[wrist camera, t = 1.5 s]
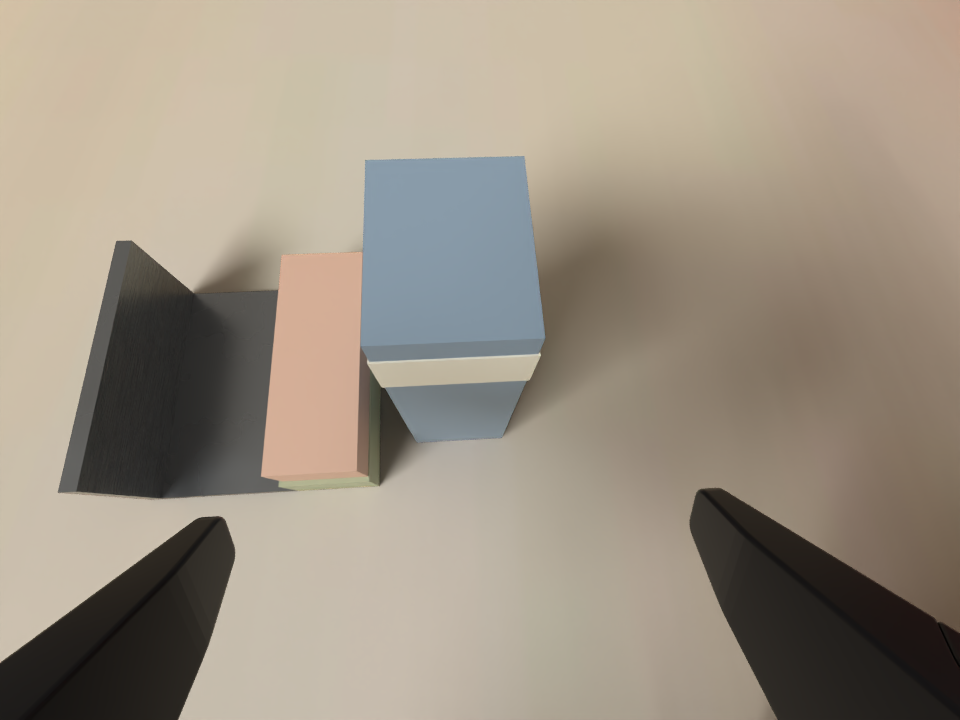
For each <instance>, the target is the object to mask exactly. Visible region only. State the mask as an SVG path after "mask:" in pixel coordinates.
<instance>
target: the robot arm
mask: <svg viewBox="0 0 960 720" xmlns="http://www.w3.org/2000/svg"><path fill="white" fill-rule="evenodd" d="M690 530H691V534H692V536H693V539H694V541H695V544H696V546H697V549H698V552H699V554H700V557H701V559H702V562H703V564H704V567H705V569H706V572H707V575H708V577H709V580H710V582H711V585H712V587H713V590H714V592H715V595H716V597H717V600H718V602H719V604H720V607H721V609H722V611H723V613H724V615H725V617H726V619H727V622H728V624H729V626H730V627H731V629H732V631H733V633H734V635H735V637H736V639H737V641H738V643H739V645H740V647H741V649H742V651H743V653H744V655H745V657H746V659H747V661H748V663H749V665H750V667H751V669H752V670H753V672H754V674H755V676H756V678H757V680H758V682H759V684H760V686H761V688H762V690H763V692H764V694H765V696H766V698H767V700H768V702H769V704H770V706H771V708H772V710H773V712H774V714H775V715H776V717H777V719H778V720H960V633H959V632H957V631H956V630H954V629H952V628H951V627H949V626H947V625H946V624H944V623H942V622H937V621H936V619H935V618H934V617H932V616H931V615H929V614H927V613H926V612H924V611H922V610H921V609H919V608H917V607H916V606H914V605H912V604H911V603H909V602H908V601H906V600H904V599H903V598H901V597H899V596H898V595H896V594H894V593H893V592H891V591H889V590H888V589H886V588H884V587H883V586H881V585H880V584H878V583H876V582H875V581H873V580H871V579H870V578H868V577H866V576H865V575H863V574H861V573H860V572H858V571H857V570H855V569H853V568H852V567H850V566H848V565H847V564H845V563H843V562H842V561H840V560H838V559H837V558H835V557H833V556H832V555H830V554H829V553H827V552H825V551H824V550H822V549H820V548H819V547H817V546H815V545H814V544H812V543H810V542H809V541H807V540H805V539H804V538H802V537H801V536H799V535H797V534H796V533H794V532H792V531H791V530H789V529H787V528H786V527H784V526H782V525H781V524H779V523H778V522H776V521H774V520H773V519H771V518H769V517H768V516H766V515H764V514H763V513H761V512H759V511H758V510H756V509H754V508H753V507H751V506H750V505H748V504H746V503H745V502H743V501H741V500H740V499H738V498H736V497H735V496H733V495H731V494H730V493H728V492H726V491H725V490H723V489H721V488H705V489H700V490H698V491H697V493H696V496H695V500H694V504H693V508H692V512H691V516H690ZM234 560H235V547H234V544H233V541H232V538H231V535H230V532H229V529H228V526H227V523H226V521H225V519H224V518H222V517H219V516H216V517H201V518H198V519H196V520H194V521H193V522H192V523H190V524H189V525H188V526H186V527H185V528H183V529H182V530H181V531H179V532H178V533H177V534H175V535H174V536H173V537H171V538H170V539H168V540H167V541H166V542H164V543H163V544H162V545H160V546H159V547H158V548H156V549H155V550H153V551H152V552H151V553H149V554H148V555H147V556H145V557H144V558H142V559H141V560H140V561H138V562H137V563H136V564H134V565H133V566H132V567H130V568H129V569H127V570H126V571H125V572H123V573H122V574H121V575H119V576H118V577H117V578H115V579H114V580H112V581H111V582H110V583H108V584H107V585H106V586H104V587H103V588H102V589H100V590H99V591H97V592H96V593H95V594H93V595H92V596H91V597H89V598H88V599H87V600H85V601H84V602H82V603H81V604H80V605H78V606H77V607H76V608H74V609H73V610H72V611H70V612H69V613H67V614H66V615H65V616H63V617H62V618H61V619H59V620H58V621H57V622H55V623H54V624H52V625H51V626H50V627H48V628H47V629H46V630H44V631H43V632H41V633H40V634H39V635H37V636H36V637H35V638H33V639H32V640H31V641H29V642H28V643H26V644H25V645H24V646H22V647H21V648H20V649H18V650H17V651H16V652H14V653H13V654H11V655H10V656H9V657H7V658H6V659H5V660H3V661H2V662H0V720H178V719H179V716H180V714H181V711H182V709H183V707H184V704H185V702H186V699H187V697H188V694H189V692H190V690H191V687H192V685H193V682H194V680H195V678H196V675H197V673H198V670H199V668H200V665H201V663H202V661H203V658H204V655H205V653H206V650H207V648H208V645H209V642H210V639H211V636H212V633H213V630H214V627H215V623H216V620H217V617H218V613H219V610H220V607H221V603H222V600H223V597H224V593H225V590H226V587H227V584H228V580H229V577H230V574H231V570H232V567H233V564H234Z"/></svg>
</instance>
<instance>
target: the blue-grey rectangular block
mask: <svg viewBox="0 0 960 720" xmlns="http://www.w3.org/2000/svg"><path fill="white" fill-rule="evenodd" d="M544 340H545V331H544V322H543V314H542V305H541V296H540V288H539V279H538V270H537V262H536V253H535V245H534V236H533V227H532V219H531V210H530V202H529V193H528V184H527V176H526V167H525V158H524V156H515V157H474V158H433V159H392V160H365V194H364V231H363V268H362V305H361V343H360V347H361V348H362V350H363V352H364V354H365V355H366V357H367V364H368V366H369V368H370V369H371V371H372V373H373V374H374V376H375V378H376V379H377V381H378V382H379V384H380V386H381V387H382V388H385V389H386V391H387V393H388V394H389V396H390V398H391V399H392V401H393V403H394V405H395V406H396V408H397V410H398V411H399V413H400V415H401V416H402V418H403V420H404V422H405V423H406V425H407V427H408V428H409V430H410V432H411V433H412V435H413V437H414V439H415V440H416V442H417V443H418V442H436V441H454V440H472V439H490V438H502V436H503V434H504V431H505V429H506V427H507V425H508V422H509V420H510V418H511V416H512V413H513V411H514V409H515V406H516V404H517V402H518V400H519V397H520V395H521V393H522V390H523V388H524V386H525V384H526V381H527V380H530V378H531V376H532V374H533V372H534V370H535V367H536V365H537V363H538V361H539V359H540V356H541V354H540V349H541V347H542V345H543V343H544Z"/></svg>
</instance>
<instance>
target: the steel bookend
mask: <svg viewBox="0 0 960 720" xmlns="http://www.w3.org/2000/svg"><path fill="white" fill-rule="evenodd" d="M277 300H278V291H255V292H229V293H202V294H194V293H193V292H192V291H190V290H189V289H188V288H187V287H186V286H184V285H183V284H182V283H181V282H180V281H179V280H177V279H176V278H175V277H174V276H173V275H171V274H170V273H169V272H168V271H167V270H166V269H164V268H163V267H162V266H161V265H160V264H158V263H157V262H156V261H155V260H154V259H153V258H151V257H150V256H149V255H148V254H147V253H146V252H144V251H143V250H142V249H141V248H140V247H138V246H137V245H136V244H135V243H134V242H133V241H116V245H115V249H114V253H113V258H112V262H111V266H110V271H109V275H108V279H107V283H106V288H105V292H104V296H103V301H102V305H101V309H100V314H99V318H98V322H97V326H96V331H95V335H94V339H93V344H92V348H91V352H90V356H89V361H88V365H87V369H86V374H85V378H84V382H83V387H82V391H81V395H80V399H79V404H78V408H77V412H76V417H75V421H74V425H73V430H72V434H71V438H70V442H69V447H68V451H67V455H66V460H65V464H64V468H63V473H62V477H61V481H60V485H59V490H58V493H68V494H82V495H95V496H109V497H123V498H136V499H150V500H154V499H171V498H187V497H204V496H221V495H238V494H254V493H271V492H288V491H297V490H292V489H287V488H281V487H278V486H279V481H278V480H273V479H269V478H265V477H261V471H262V460H263V450H264V439H265V428H266V418H267V407H268V396H269V386H270V375H271V364H272V354H273V343H274V332H275V322H276V311H277Z"/></svg>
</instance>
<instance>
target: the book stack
mask: <svg viewBox="0 0 960 720" xmlns="http://www.w3.org/2000/svg"><path fill="white" fill-rule="evenodd" d="M362 268H363V252H348V253H319V254H289V255H282V257H281V268H280V279H279V289H278V300H277V311H276V322H275V332H274V343H273V354H272V364H271V375H270V386H269V396H268V407H267V418H266V428H265V439H264V450H263V460H262V471H261V477H265V478H269V479H273V480H278V481H279V486H278V487H281V488H287V489H292V490H297V491H304V490H321V489H338V488H355V487H371V486H379V480H380V388H381V386H380V384H379V382H378V381H377V379H376V378H375V376H374V374H373V373H372V371H371V369H370V368H369V366H368V364H367V357H366V355H365V354H364V352H363V350H362V348H361V347H360V343H361V305H362Z"/></svg>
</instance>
